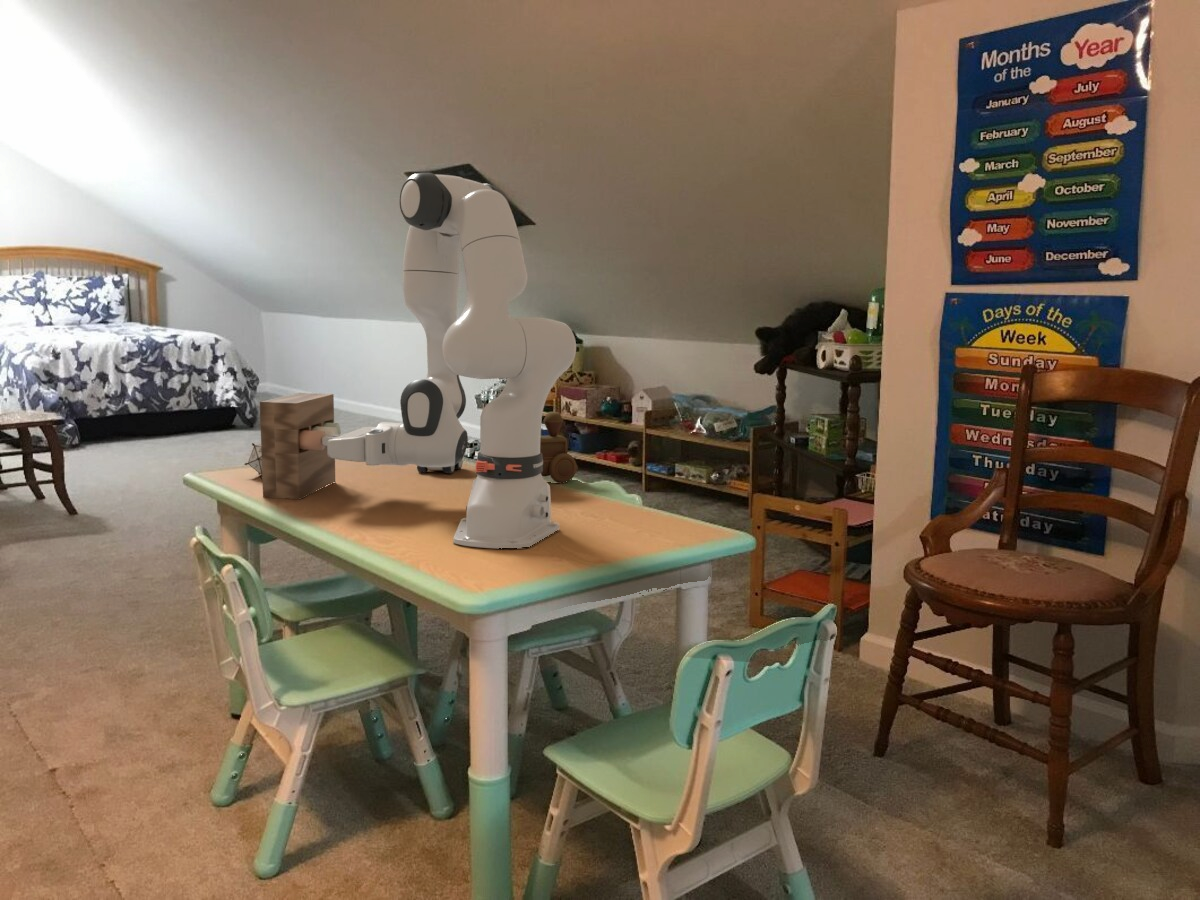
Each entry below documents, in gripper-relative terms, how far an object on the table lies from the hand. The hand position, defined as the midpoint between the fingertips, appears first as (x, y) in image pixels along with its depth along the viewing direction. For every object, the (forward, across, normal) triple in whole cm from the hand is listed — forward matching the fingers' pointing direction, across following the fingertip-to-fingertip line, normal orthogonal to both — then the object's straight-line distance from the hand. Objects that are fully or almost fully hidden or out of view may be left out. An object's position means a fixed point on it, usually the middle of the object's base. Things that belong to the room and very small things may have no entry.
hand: (325, 440), depth 203 cm
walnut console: (+8, -6, +12) cm, 16 cm away
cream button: (+4, -6, +2) cm, 7 cm away
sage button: (+6, -12, +2) cm, 13 cm away
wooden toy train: (-38, -28, +12) cm, 49 cm away
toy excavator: (-13, -38, +12) cm, 42 cm away
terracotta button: (+4, 0, +2) cm, 4 cm away
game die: (+22, -18, +12) cm, 31 cm away
